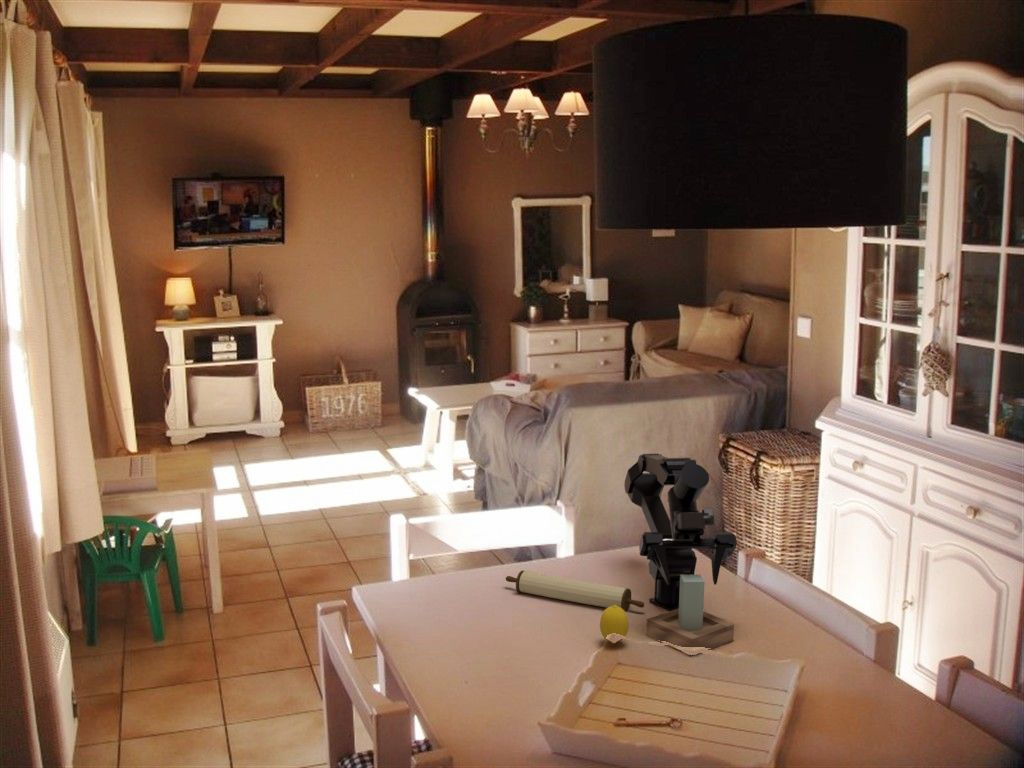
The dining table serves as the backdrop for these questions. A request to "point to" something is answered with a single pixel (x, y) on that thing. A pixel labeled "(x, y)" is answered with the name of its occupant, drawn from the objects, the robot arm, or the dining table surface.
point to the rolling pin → (573, 590)
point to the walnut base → (709, 637)
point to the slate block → (691, 602)
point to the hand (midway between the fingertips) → (692, 583)
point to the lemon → (614, 621)
